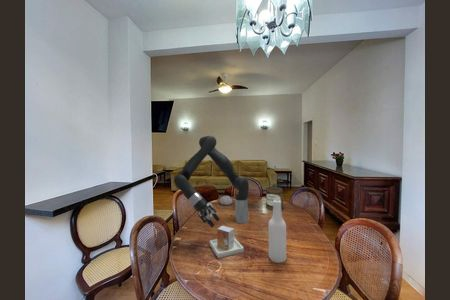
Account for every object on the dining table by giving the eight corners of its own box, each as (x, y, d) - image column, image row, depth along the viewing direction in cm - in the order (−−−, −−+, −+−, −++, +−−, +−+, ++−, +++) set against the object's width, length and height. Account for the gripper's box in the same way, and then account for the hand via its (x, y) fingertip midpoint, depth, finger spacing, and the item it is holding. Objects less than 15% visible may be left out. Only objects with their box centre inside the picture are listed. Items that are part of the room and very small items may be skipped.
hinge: (210, 218, 155) (206, 206, 155) (205, 219, 156) (201, 208, 156) (215, 210, 171) (211, 200, 172) (210, 212, 172) (207, 201, 173)
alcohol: (273, 251, 106) (272, 197, 105) (288, 257, 100) (288, 200, 99) (265, 259, 99) (265, 201, 98) (282, 265, 94) (281, 204, 93)
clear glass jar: (263, 209, 174) (263, 185, 174) (269, 204, 187) (269, 182, 186) (280, 212, 166) (280, 186, 166) (284, 207, 179) (284, 183, 178)
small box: (217, 246, 110) (216, 228, 109) (222, 242, 114) (222, 225, 114) (228, 251, 105) (228, 232, 105) (234, 246, 110) (234, 228, 109)
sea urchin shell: (234, 202, 196) (233, 194, 196) (230, 206, 183) (230, 198, 183) (221, 201, 200) (221, 193, 200) (217, 205, 187) (217, 197, 187)
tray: (232, 239, 120) (232, 235, 119) (243, 252, 106) (243, 247, 106) (209, 244, 114) (209, 240, 114) (217, 258, 100) (217, 253, 100)
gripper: (196, 201, 107) (215, 224, 104) (206, 194, 120) (224, 214, 117) (187, 209, 109) (207, 232, 105) (199, 202, 122) (216, 222, 119)
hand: (216, 223), depth 111 cm, fingers open, 8 cm apart
